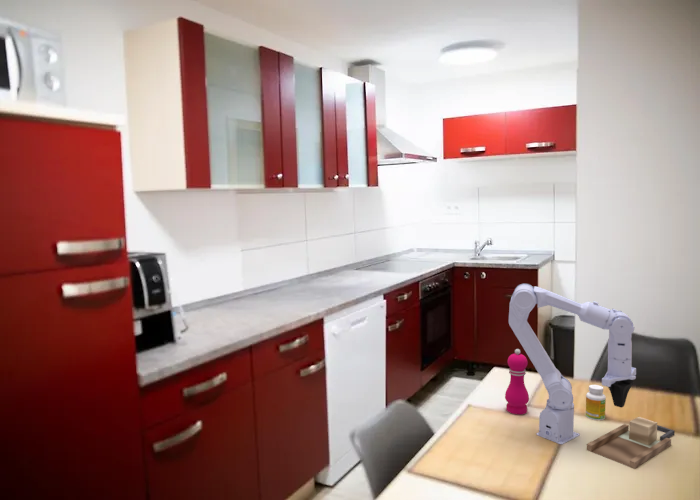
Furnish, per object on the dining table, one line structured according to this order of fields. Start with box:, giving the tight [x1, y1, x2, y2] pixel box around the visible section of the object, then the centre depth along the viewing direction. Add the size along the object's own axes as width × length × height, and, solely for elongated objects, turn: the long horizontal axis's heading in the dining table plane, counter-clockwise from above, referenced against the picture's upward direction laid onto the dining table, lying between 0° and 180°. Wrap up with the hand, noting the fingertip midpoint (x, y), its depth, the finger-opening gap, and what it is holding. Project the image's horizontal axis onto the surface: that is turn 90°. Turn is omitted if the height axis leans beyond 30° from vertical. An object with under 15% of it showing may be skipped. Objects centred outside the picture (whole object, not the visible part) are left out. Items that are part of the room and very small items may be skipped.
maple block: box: [629, 416, 658, 445], centre depth 146 cm, size 5×5×5 cm
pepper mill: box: [504, 348, 530, 415], centre depth 167 cm, size 7×7×20 cm
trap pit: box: [657, 424, 675, 441], centre depth 150 cm, size 7×8×2 cm
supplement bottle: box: [585, 384, 607, 421], centre depth 161 cm, size 5×5×10 cm
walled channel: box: [586, 423, 672, 470], centre depth 142 cm, size 20×12×2 cm, turn 126°
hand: (619, 405), depth 144 cm, fingers closed
